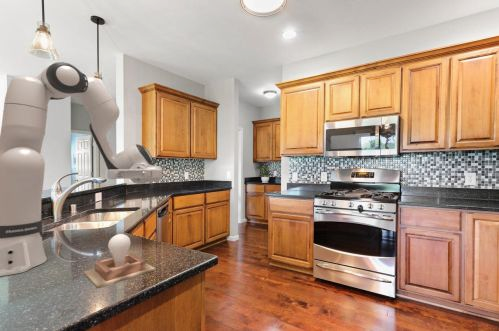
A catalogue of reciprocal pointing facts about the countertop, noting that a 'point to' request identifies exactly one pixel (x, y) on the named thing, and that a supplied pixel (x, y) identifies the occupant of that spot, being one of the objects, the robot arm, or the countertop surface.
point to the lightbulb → (119, 248)
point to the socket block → (117, 270)
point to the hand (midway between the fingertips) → (130, 174)
